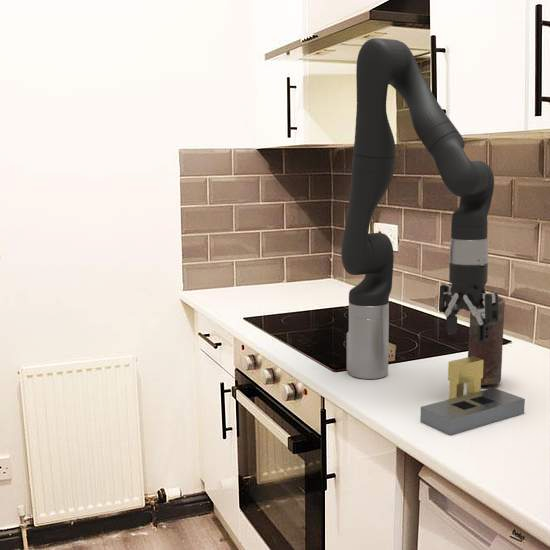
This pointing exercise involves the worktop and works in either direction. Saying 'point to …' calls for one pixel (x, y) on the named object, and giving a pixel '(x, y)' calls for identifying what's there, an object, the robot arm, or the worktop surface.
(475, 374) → the yellow block
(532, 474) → the worktop surface
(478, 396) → the grey slotted base
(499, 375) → the brown cylinder
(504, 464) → the worktop surface
